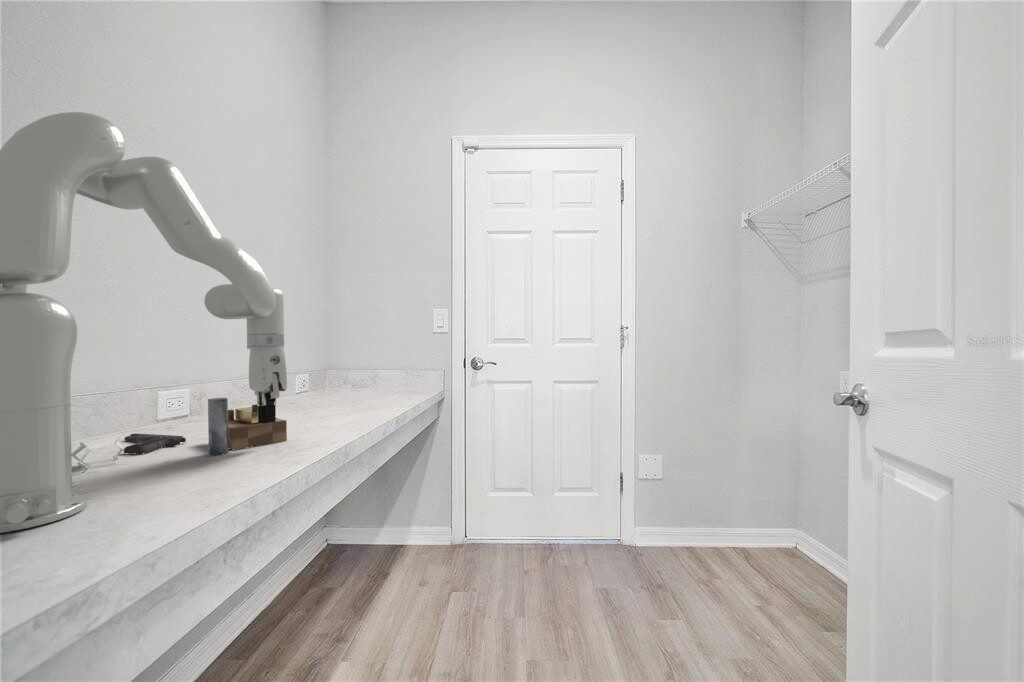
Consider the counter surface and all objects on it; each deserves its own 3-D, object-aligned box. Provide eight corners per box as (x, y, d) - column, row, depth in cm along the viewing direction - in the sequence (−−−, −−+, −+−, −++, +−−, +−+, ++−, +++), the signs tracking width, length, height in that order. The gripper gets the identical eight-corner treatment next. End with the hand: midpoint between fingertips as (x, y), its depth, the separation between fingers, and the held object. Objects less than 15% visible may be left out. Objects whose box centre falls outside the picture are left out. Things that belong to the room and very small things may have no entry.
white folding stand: (73, 463, 93) (73, 439, 93) (127, 457, 98) (126, 434, 98) (57, 478, 83) (57, 451, 83) (118, 471, 88) (117, 445, 88)
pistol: (139, 446, 99) (193, 434, 111) (81, 442, 105) (138, 431, 117) (139, 457, 99) (193, 444, 111) (81, 453, 105) (138, 441, 117)
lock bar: (265, 421, 109) (265, 404, 109) (251, 423, 107) (251, 406, 107) (248, 416, 116) (248, 401, 116) (235, 418, 114) (235, 402, 114)
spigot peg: (230, 453, 100) (230, 398, 100) (212, 456, 98) (211, 400, 97) (224, 451, 103) (224, 397, 103) (206, 454, 100) (205, 399, 100)
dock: (286, 440, 112) (286, 410, 112) (232, 450, 103) (231, 416, 103) (265, 434, 120) (265, 405, 120) (213, 442, 111) (212, 411, 111)
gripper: (297, 342, 103) (298, 423, 103) (269, 342, 113) (270, 416, 113) (261, 342, 97) (263, 429, 98) (235, 342, 107) (236, 421, 107)
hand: (267, 422), depth 105 cm, fingers closed
